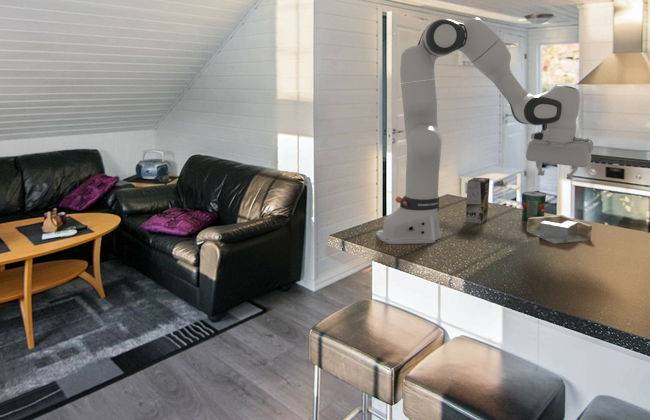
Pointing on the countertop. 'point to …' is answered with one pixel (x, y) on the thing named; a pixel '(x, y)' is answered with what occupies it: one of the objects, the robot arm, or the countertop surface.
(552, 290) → the countertop surface
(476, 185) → the coffee box
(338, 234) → the countertop surface
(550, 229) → the bracket
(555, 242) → the mat
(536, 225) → the walls
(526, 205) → the canned tomato
